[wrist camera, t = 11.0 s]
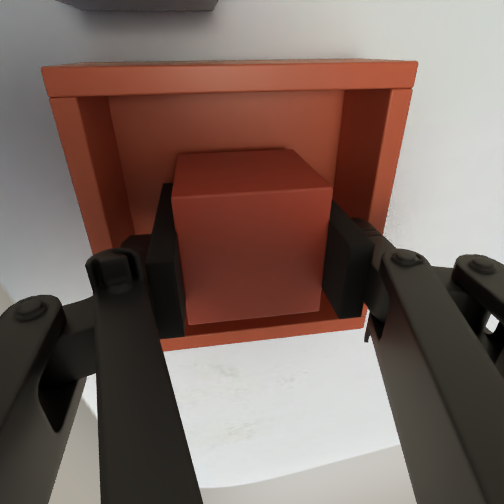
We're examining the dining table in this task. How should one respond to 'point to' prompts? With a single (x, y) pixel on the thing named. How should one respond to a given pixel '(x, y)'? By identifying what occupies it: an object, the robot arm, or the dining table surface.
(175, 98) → the red bin
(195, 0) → the blue block
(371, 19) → the dining table surface
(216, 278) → the red block
